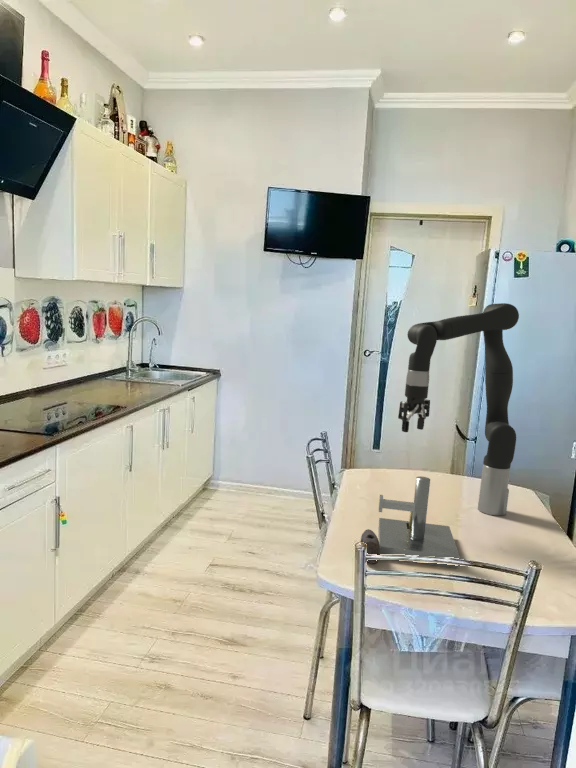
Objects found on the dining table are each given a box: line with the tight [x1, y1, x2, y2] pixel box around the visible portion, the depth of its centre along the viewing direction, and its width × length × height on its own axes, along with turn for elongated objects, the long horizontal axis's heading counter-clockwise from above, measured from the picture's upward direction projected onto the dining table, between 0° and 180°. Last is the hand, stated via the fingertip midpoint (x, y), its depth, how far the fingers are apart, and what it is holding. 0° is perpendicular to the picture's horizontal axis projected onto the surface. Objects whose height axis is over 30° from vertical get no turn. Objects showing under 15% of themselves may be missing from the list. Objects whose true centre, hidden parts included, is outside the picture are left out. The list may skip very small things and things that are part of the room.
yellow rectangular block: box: [408, 511, 413, 529], centre depth 172 cm, size 4×4×10 cm
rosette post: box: [377, 475, 461, 569], centre depth 164 cm, size 23×22×22 cm
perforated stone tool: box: [360, 529, 380, 564], centre depth 158 cm, size 15×5×7 cm, turn 176°
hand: (412, 430), depth 187 cm, fingers open, 8 cm apart
